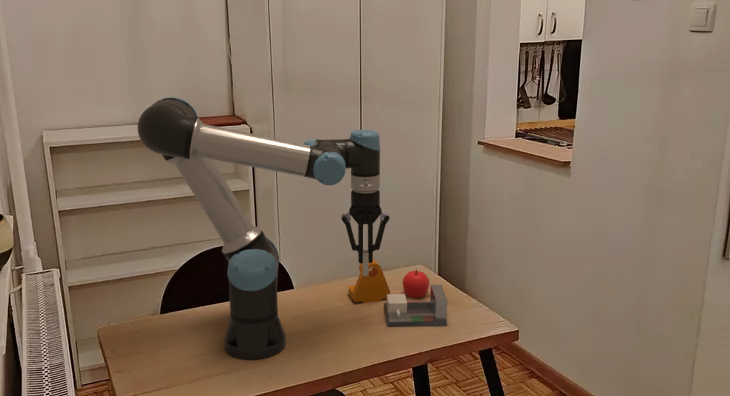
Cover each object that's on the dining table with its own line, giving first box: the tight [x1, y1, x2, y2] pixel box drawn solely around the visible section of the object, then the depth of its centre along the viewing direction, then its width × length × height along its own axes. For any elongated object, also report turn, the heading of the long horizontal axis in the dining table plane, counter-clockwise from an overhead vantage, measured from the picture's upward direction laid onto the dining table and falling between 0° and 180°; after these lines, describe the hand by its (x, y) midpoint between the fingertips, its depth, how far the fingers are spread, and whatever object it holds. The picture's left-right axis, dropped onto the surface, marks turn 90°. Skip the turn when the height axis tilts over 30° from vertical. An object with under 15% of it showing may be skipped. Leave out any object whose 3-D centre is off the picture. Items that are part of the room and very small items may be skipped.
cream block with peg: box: [386, 293, 408, 317], centre depth 180 cm, size 5×9×4 cm, turn 3°
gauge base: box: [383, 284, 448, 328], centre depth 182 cm, size 16×12×7 cm
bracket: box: [348, 258, 391, 304], centre depth 193 cm, size 11×7×12 cm, turn 108°
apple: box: [402, 269, 430, 299], centre depth 195 cm, size 8×8×8 cm
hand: (365, 273), depth 179 cm, fingers closed
